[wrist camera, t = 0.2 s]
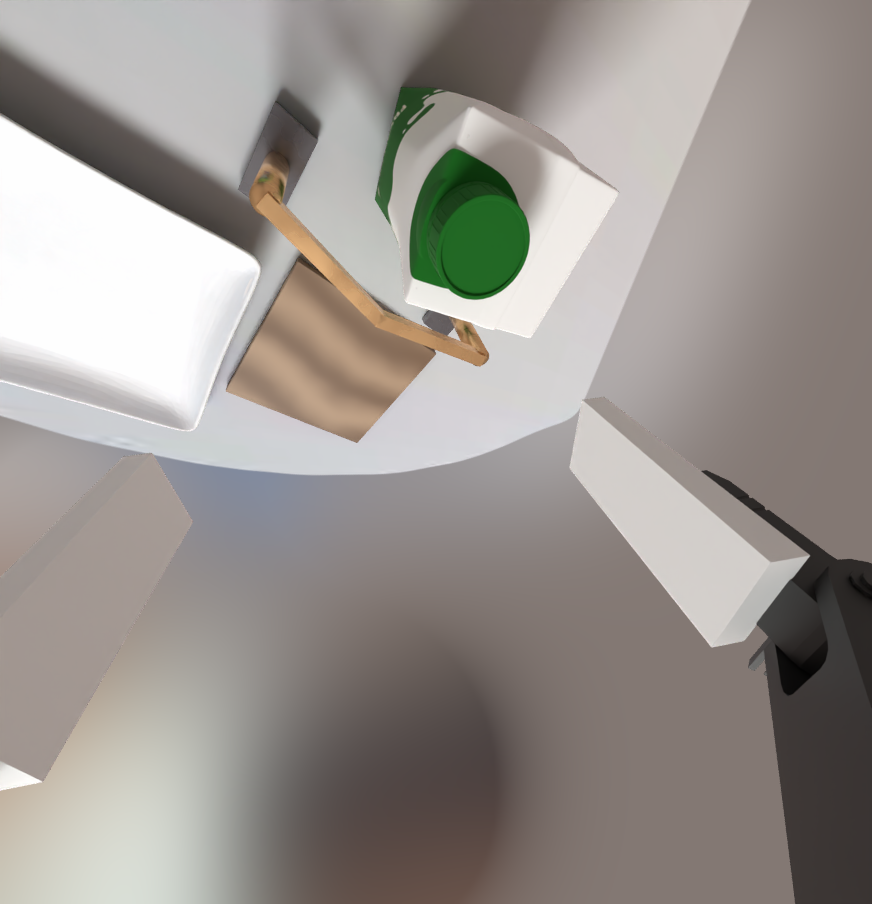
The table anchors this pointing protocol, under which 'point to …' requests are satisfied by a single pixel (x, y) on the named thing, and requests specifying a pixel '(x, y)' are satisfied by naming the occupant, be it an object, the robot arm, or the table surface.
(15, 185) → the salad plate
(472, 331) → the copper wire
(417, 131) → the soya milk
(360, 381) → the walnut board
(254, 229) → the table surface
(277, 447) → the table surface
